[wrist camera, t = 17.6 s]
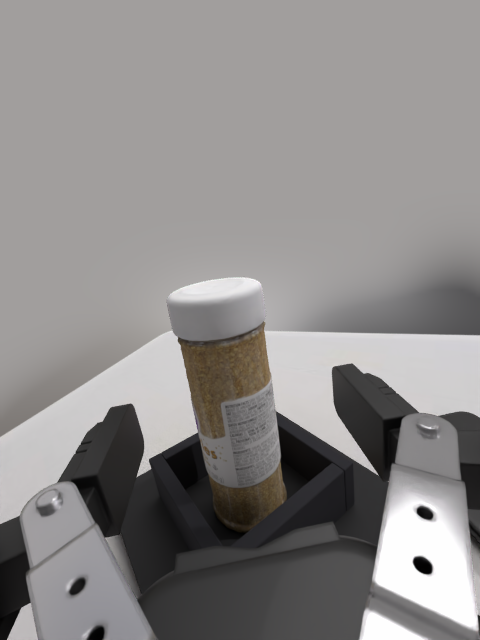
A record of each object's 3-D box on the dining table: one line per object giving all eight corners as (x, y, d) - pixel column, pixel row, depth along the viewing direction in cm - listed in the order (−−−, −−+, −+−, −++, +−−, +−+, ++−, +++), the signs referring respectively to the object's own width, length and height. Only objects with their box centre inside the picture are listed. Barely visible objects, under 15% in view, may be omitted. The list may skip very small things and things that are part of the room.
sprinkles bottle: (205, 488, 20) (158, 288, 15) (267, 461, 21) (239, 271, 17) (229, 554, 15) (174, 305, 11) (304, 515, 17) (279, 281, 13)
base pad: (211, 801, 9) (186, 736, 8) (111, 504, 21) (94, 458, 19) (428, 520, 17) (432, 463, 15) (266, 413, 28) (261, 375, 27)
